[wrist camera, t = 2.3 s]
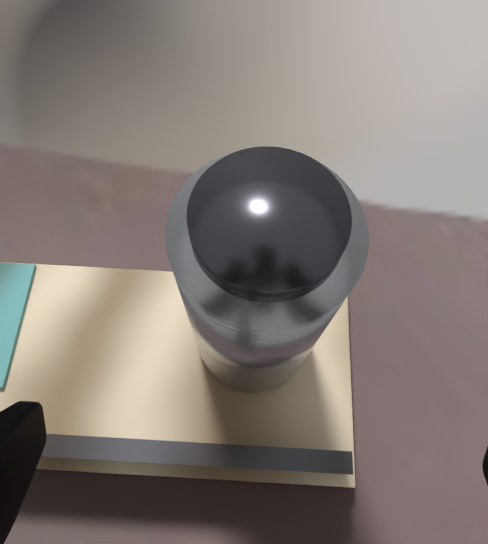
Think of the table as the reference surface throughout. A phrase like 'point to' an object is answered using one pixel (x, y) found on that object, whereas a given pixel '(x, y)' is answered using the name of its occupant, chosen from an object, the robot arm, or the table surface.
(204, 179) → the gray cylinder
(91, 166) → the table surface
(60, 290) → the rail board
